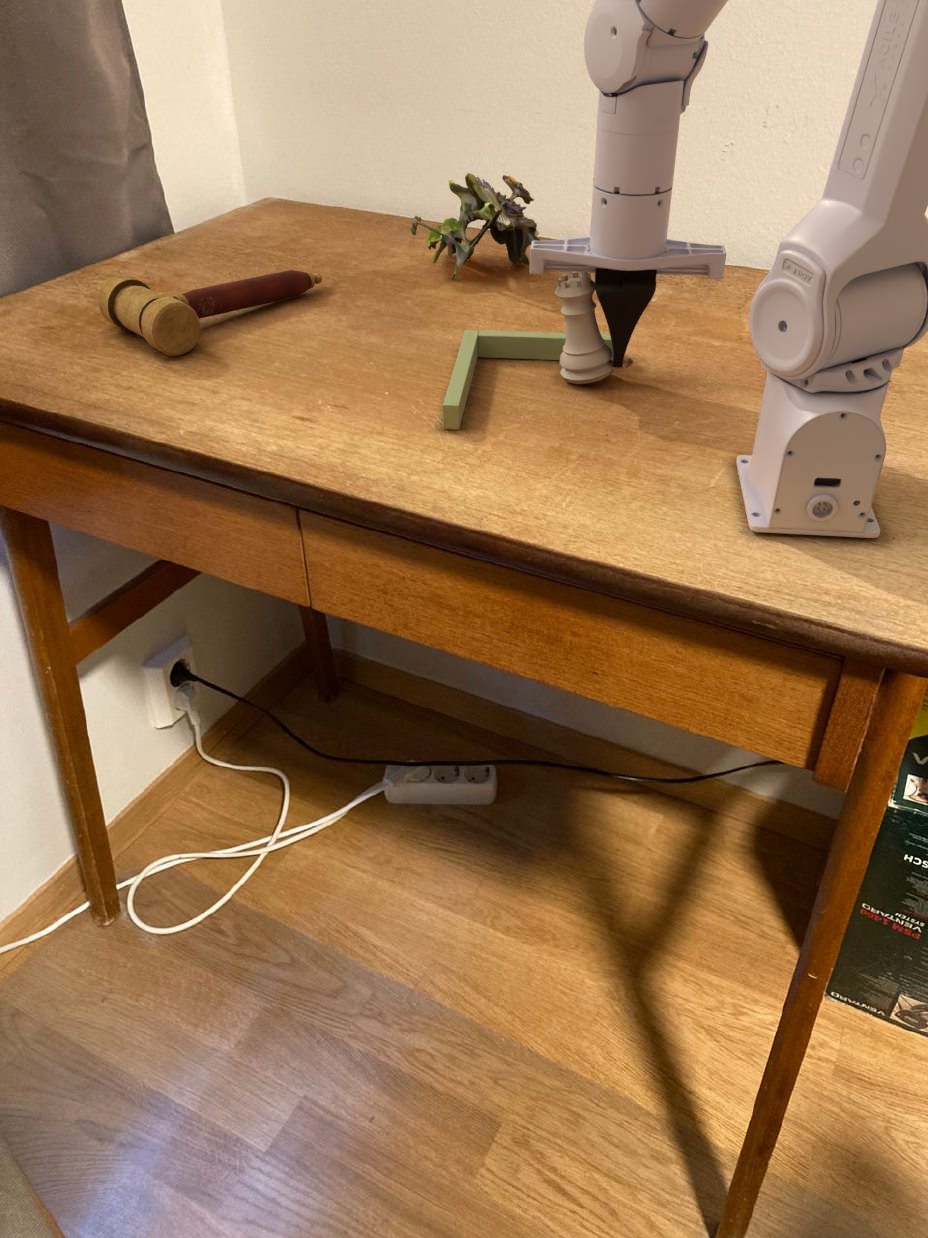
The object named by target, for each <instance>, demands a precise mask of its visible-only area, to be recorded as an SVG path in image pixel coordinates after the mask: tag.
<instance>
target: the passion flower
mask: <svg viewBox="0 0 928 1238" xmlns="http://www.w3.org/2000/svg"><path fill="white" fill-rule="evenodd" d="M464 180H465V185H466V187H464V186H462V185H460V184H458V183H455V182H454V181H453V179H452V178H449V180H448V187H449V190H450V191H451V192H452V193H453V194H454V195H456V196H457V198H459V200H460V204H461V205H460V207H459V216H458V219H456V218H454V217H449V218H446V219H445V220H444V221H443V222H442V223H441V224H440V225H436V226H435V227H432V226H429V225H427V224H425V223H423V222H421V221H422V216H421V217H420V216H418V215H415V216H414V217H413V221H412V224H411V228H410V232H411V234H412V235H413V236H416V235H417V229H418V225H419V226H422V227H423V228H426V229H428V230H429V231H430V233H429V234H428V239H427V248H428V250H429V251H431V250H432V249H434V250H435V252H434V254H433V256H432V258H433V264H436V263H437V261H438V259H439V257H440V255H441V254H442V253H443V250H444V249H446V248H447V256H448V257H452V256H453V255H454V256H455V268H454V272H453V274H452V276H451V278H450V280H451V281H454V279H455V278H456V276H457V275H458V273H459V271H460V269H461V268H462V266H463V265H466V263H467V262H468V261H469V260H470V259H471V257H472V256H473V254H474V253H475V247H476V246H477V245H478V244H479V242H480V240H481V239H482V238H483V237H484V235H485V233H486V232H487V231H489V232H490V235H491V238H492V239H493V240H494V241H495V242H496V243H497V244H499V245H500V246H501V245H502V246H503V245H505V247H506V251H507V257H508V260H509V262H511V263H512V264H513V265H514V266H518V267H521V266H523V265H526V266H530V259H529V257H528V256H527V249H528V247H529V246H531V243H532V241H542V240H541V239H540V238H539V237H538V236H539V234H540V232H539V231H538V229H537V226H538V224H537V222H535V220H534V219H533V218H528V217H527V216H525V214H524V212H523V211H524V210H526V209H527V206H521V203H517V202H516V201H515V199H517V198H520V199H522V200H523V203H524V204H527V205H530V204H531V202H534V201H535V198H533V197H532V196H531V194H530V192H529V190H528V189H526V188H524V184H523V182H520V181H516V179H515V178H514V177H513V176H512V175H510V174H509V175H506V174H504V175H502V181H503V182H504V183H505V184H506V185H507V187H508V188H510V190H511V192H512V193H511V194H510V196H509V197H507V194H504V195H502V193H501V192H500V191H497V192H496V191H495V188H494V187H493V186H491V184H490V183H489V182H488V181H486V180H485V178H484V179H482V180H481V178H480V177H479V176H476V175H475V174H473V173H471V172H470V173H468V172H467V174H466V175H465V177H464ZM479 220H480V221H485V223H484V224H483V225H482V226H481V230H480V231H479V232H478V233H477V235H476V236H475V237H474V238H473V239H472V240H471V239H468V238H467V235H466V231H467V228H468V226H469V224H471V223H472V222H475V221H479ZM439 242H440V243H439ZM463 242H464V244H462V243H463ZM437 244H439V246H438V249H437Z"/></svg>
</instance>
